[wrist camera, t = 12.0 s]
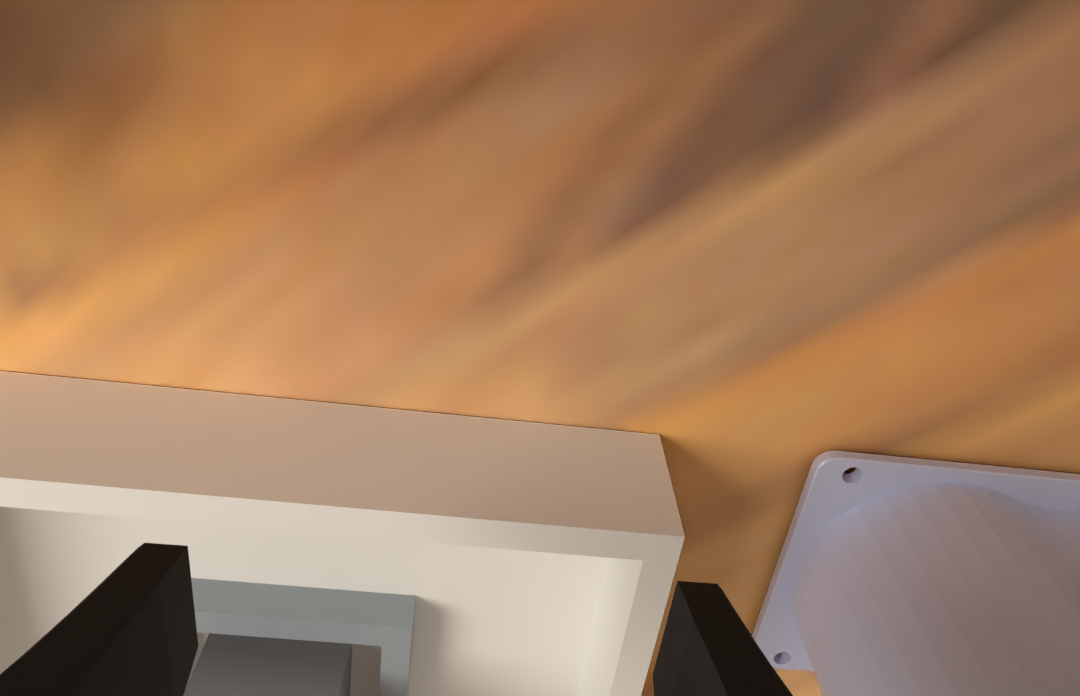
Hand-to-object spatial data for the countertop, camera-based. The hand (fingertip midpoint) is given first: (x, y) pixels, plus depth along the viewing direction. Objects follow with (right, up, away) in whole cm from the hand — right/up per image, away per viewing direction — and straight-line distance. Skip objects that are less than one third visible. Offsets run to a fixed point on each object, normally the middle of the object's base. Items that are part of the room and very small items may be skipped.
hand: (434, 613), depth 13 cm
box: (-6, -6, +14) cm, 16 cm away
